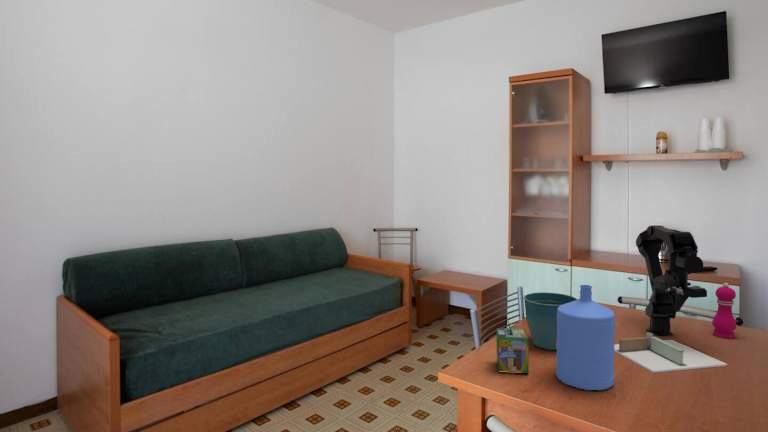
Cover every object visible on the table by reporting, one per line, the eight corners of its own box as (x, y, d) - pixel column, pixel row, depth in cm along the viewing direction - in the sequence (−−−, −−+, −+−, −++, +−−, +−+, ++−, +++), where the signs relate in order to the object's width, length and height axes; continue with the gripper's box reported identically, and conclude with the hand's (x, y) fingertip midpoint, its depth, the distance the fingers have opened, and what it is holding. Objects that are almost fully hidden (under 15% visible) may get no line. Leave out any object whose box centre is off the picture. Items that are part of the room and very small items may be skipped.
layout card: (606, 346, 159) (606, 330, 158) (671, 341, 163) (671, 325, 163) (653, 372, 137) (653, 353, 137) (727, 365, 141) (727, 347, 141)
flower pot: (513, 339, 167) (513, 294, 166) (553, 333, 173) (554, 290, 172) (544, 357, 150) (545, 307, 149) (588, 350, 156) (589, 301, 155)
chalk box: (528, 375, 137) (529, 327, 136) (497, 373, 139) (497, 326, 137) (525, 363, 146) (525, 318, 145) (495, 361, 148) (496, 317, 146)
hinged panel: (650, 349, 153) (650, 336, 153) (654, 349, 154) (654, 336, 153) (678, 364, 141) (679, 350, 141) (683, 364, 141) (683, 350, 141)
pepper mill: (731, 333, 170) (733, 281, 169) (739, 340, 163) (741, 285, 162) (708, 331, 172) (710, 280, 171) (715, 338, 166) (718, 284, 164)
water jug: (611, 397, 123) (613, 295, 120) (550, 384, 131) (551, 288, 129) (616, 375, 136) (618, 283, 134) (561, 365, 144) (562, 278, 142)
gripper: (638, 263, 166) (637, 305, 167) (679, 273, 147) (678, 320, 148) (665, 262, 167) (663, 303, 169) (709, 272, 149) (707, 318, 150)
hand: (676, 311), depth 159 cm, fingers closed
